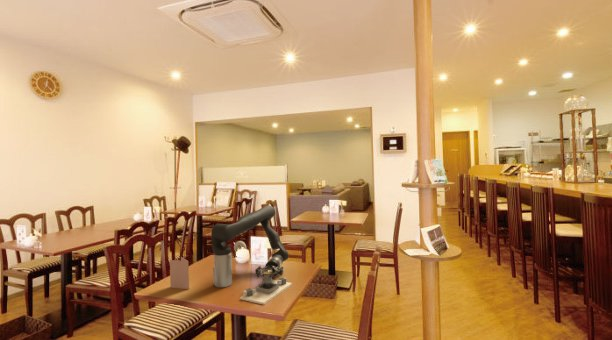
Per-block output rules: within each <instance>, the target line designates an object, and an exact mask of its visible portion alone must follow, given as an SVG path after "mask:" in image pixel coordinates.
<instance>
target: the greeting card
mask: <svg viewBox="0 0 612 340" xmlns="http://www.w3.org/2000/svg"><path fill="white" fill-rule="evenodd" d="M189 264H190V262H189V260H187V259H186V258H184V257H182V256H180V259H179V260H176V259H174V260H173V259H169V273H170V274H169V275H170V277H169V278H170V281H169V283H170V288H171V289H172V288H173V289H183V290H190V276H189V275H190V273H189V271H190V270H189V267H190V265H189Z"/></svg>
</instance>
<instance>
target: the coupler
mask: <svg viewBox="0 0 612 340" xmlns="http://www.w3.org/2000/svg"><path fill="white" fill-rule="evenodd" d="M272 277H273V275H272V269H264V270H263V274H262V284H263V288H265V289H270V288H272V280H273V278H272Z"/></svg>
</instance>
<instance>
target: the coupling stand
mask: <svg viewBox="0 0 612 340" xmlns="http://www.w3.org/2000/svg"><path fill="white" fill-rule="evenodd" d="M291 286H293V282H288V278H287V277H280V278H278V279H272V288H270V289H265V288H263V283H262V284H259V285H258V286H256V287H255V288H253V287H252V288H250V287H249V288H245V290H243V295H241V296H240V297H239V298H240V299H239V300H241V301H247V302H249V303H255V304H258V305H264V306H265V305H266V304H267V303H269V302H270V301H271V300H274V299H275V298H276V297H277V296H278V295H280V294H282V293H283V292H284V291H285V290H286V291H287V289H289V288H290V287H291Z"/></svg>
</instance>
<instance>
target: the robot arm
mask: <svg viewBox="0 0 612 340" xmlns="http://www.w3.org/2000/svg"><path fill="white" fill-rule="evenodd" d="M275 215H276V209H275V208H274V206H272V205H267V204H266V205H265V206H262V207H261V208H259V209H258V210H255V211H252V212H249V213H246V214H244V215H242V216H240V217H239V218H238V219H237V221H236V222H234V223H230V224H229V223H228V224H227V223H225V224H224V223H216V224H214V225H213V227H212V228H211V233H210V234H211V236H210V237H211V247H212V251H213V265H214V266H213V268H212V278H213V279H212V283H213V286H215V287H216V288H227V287H229V286H232V285H233V269H232V267H233V265H232V264H233V262H232V260H233V259H232V247H231V246H230V245H228V244H227V243H226V242H230V241H232V240H234V238H236V237H238V236H239V235H241V234H243V233H245V232H247V231H250V230H251V229H252V230H253V228H255V227H256V226H258V225H259V224H260V225H261V227H262V228H263V231H264V232H265V234H266V236H267V239H268V243H269V245H270V247H271V249H272V250H273V251H276V250H277V251H276V252H274V253H272V254H271V257H270V259H269V260H268V261H267V262H266V264H265V266H263V267H261V265H260V266H257V268H256V269H255V276H256V277H257V278H260V276H261V275H262V276H263V270H264V269H272V276H273V278H277V277H278V276H283V274H284V266H282V265H283V263H284V262H285V261H287V260H288V259H289V257H290V254H289V252H288V250H287V249H286V248H285V246H284V244H283V243H282V240H281V238H280V235H279V234H278V232H277V231H276V230H275V229H273V228H272V226H271V225H270V220H271V219H273V218H274V216H275Z"/></svg>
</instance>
